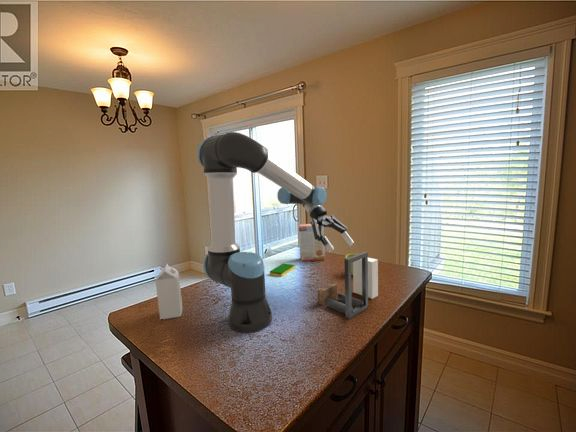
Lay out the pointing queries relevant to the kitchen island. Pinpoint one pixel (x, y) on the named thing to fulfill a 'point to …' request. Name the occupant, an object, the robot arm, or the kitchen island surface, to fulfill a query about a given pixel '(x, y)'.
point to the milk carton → (169, 293)
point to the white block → (371, 277)
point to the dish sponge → (282, 270)
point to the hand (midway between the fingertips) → (342, 247)
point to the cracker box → (310, 244)
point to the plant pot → (351, 263)
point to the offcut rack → (347, 297)
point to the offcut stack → (327, 293)
